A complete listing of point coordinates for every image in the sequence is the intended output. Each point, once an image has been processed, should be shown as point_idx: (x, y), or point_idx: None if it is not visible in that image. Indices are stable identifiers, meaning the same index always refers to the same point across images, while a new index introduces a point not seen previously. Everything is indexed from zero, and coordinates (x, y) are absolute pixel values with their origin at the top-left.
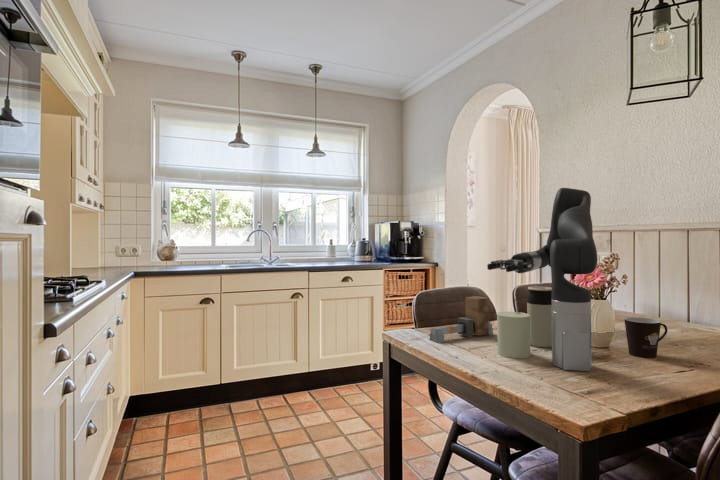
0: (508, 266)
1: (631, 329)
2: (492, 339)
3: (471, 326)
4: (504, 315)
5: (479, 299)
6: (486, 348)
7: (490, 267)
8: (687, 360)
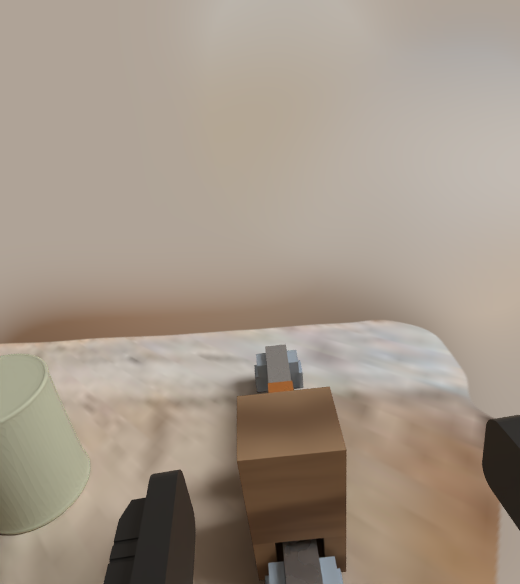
0: (150, 488)
1: None
2: (199, 550)
3: None
4: (9, 364)
5: (237, 408)
6: (132, 452)
7: (500, 475)
8: None
